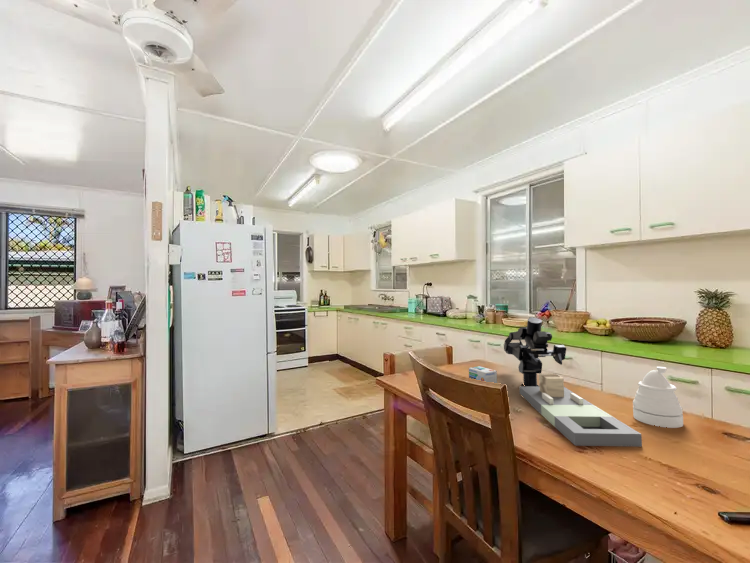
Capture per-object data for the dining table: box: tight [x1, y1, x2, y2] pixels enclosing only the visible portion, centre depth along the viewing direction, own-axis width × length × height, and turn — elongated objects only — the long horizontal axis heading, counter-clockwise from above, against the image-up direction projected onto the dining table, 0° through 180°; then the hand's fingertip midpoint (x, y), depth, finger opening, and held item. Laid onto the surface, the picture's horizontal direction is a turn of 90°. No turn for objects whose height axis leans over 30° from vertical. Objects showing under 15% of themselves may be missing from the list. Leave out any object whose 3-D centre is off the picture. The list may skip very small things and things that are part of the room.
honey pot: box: [632, 366, 684, 429], centre depth 113 cm, size 13×13×18 cm
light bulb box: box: [468, 365, 498, 384], centre depth 145 cm, size 11×7×11 cm, turn 25°
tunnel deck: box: [519, 385, 643, 448], centre depth 119 cm, size 47×18×6 cm, turn 175°
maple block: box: [538, 372, 565, 397], centre depth 132 cm, size 8×6×7 cm
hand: (549, 363), depth 133 cm, fingers open, 9 cm apart
